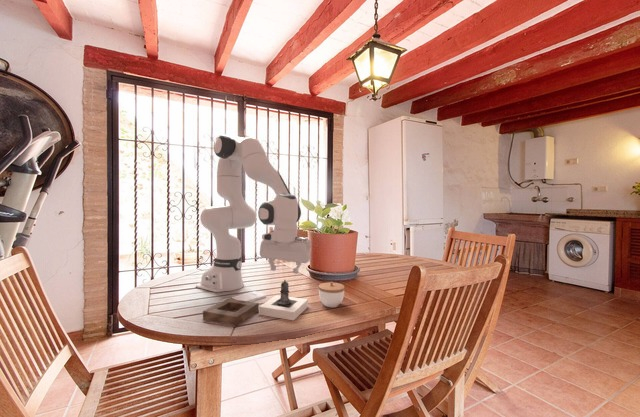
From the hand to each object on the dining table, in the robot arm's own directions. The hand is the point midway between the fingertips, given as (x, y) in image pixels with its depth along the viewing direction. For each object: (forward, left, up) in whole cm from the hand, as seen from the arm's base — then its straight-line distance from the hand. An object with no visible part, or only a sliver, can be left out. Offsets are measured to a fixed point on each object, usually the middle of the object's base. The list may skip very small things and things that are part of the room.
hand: (284, 271), depth 112 cm
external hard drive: (-20, +6, -16) cm, 26 cm away
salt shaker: (0, 0, -15) cm, 15 cm away
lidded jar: (+15, +13, -15) cm, 25 cm away
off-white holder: (0, 0, -15) cm, 15 cm away
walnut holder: (-16, -11, -15) cm, 24 cm away
